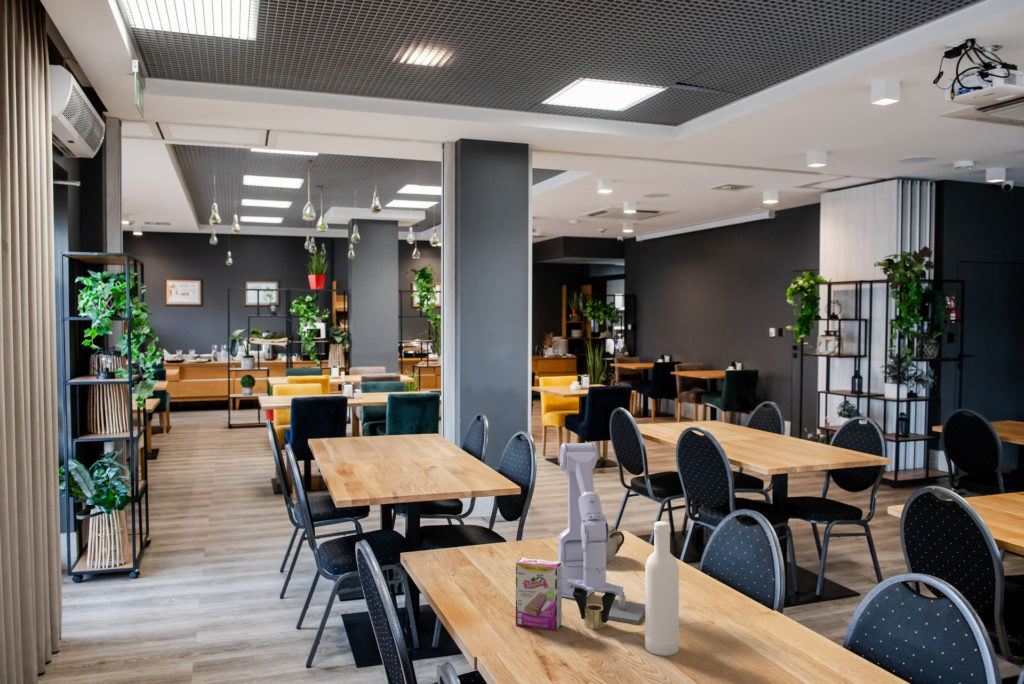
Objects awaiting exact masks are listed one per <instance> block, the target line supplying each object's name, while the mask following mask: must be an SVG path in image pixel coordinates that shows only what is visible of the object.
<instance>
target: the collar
mask: <svg viewBox="0 0 1024 684" xmlns="http://www.w3.org/2000/svg"><path fill="white" fill-rule="evenodd" d="M583 620H584V621H583V625H584V627H586V628H588V629H591V630H600V629H604V628H605V627H606V623H603V606H602V604H598V603H588V604H587V605H586V606H585V607H584V619H583Z"/></svg>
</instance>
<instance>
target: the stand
mask: <svg viewBox="0 0 1024 684" xmlns="http://www.w3.org/2000/svg"><path fill="white" fill-rule="evenodd" d="M601 605H602V606H603V604H602V603H601ZM644 618H645V603H640V602H633V601H629V600H628V601H627V600H626V595H625V591H623V595H622V596H621V597H619V596H618V599H614V601H613V603H612V606H611V609H610V612H609V617H608V621H615V622H620V623H621V622H622V623H627V624H633V625H639V624H640V623H641V622H642V619H644Z"/></svg>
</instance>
